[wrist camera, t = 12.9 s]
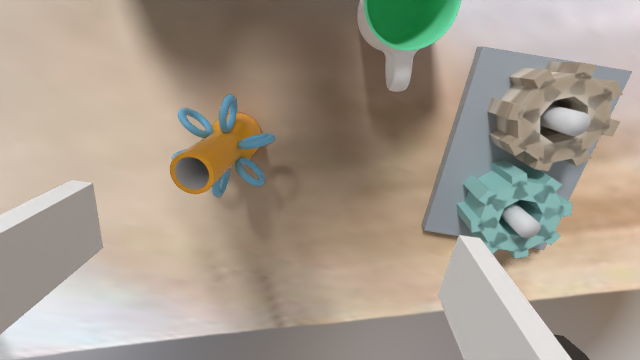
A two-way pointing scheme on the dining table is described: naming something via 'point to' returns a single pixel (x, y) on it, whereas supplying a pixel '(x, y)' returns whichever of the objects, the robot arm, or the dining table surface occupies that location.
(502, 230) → the gear
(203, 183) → the orange post with rings
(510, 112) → the gear
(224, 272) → the dining table surface
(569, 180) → the gear board
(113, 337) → the dining table surface
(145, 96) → the dining table surface
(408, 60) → the mug
